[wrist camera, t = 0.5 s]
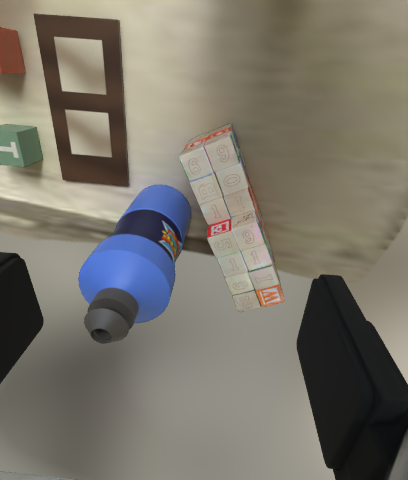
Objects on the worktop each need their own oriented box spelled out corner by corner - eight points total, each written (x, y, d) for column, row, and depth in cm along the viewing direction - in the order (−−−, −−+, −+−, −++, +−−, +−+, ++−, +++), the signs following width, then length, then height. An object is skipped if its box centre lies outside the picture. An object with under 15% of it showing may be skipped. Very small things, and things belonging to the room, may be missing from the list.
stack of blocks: (188, 139, 40) (173, 162, 29) (231, 122, 39) (232, 140, 28) (236, 262, 49) (238, 314, 39) (273, 252, 48) (285, 303, 37)
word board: (36, 14, 34) (32, 13, 34) (119, 20, 34) (117, 19, 34) (64, 178, 44) (62, 180, 44) (129, 184, 44) (128, 186, 43)
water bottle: (142, 241, 49) (71, 374, 27) (125, 188, 44) (25, 297, 23) (196, 234, 47) (168, 370, 26) (185, 179, 43) (139, 286, 21)
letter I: (5, 124, 41) (-19, 129, 37) (36, 126, 41) (15, 132, 37) (13, 156, 43) (-9, 164, 39) (43, 159, 43) (24, 167, 39)
